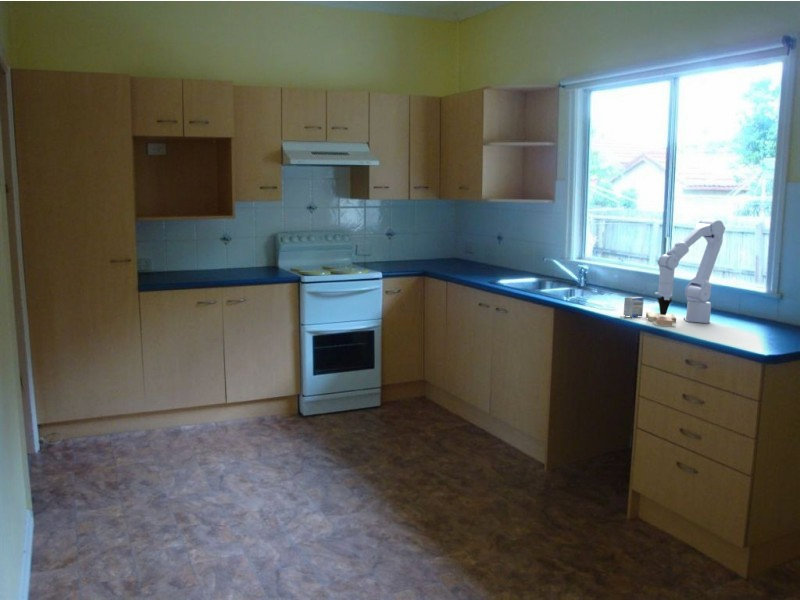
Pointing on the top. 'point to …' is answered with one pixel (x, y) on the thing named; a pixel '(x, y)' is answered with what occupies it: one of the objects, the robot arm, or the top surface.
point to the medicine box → (633, 306)
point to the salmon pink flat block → (663, 320)
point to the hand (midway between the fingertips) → (662, 314)
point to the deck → (652, 316)
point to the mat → (663, 325)
